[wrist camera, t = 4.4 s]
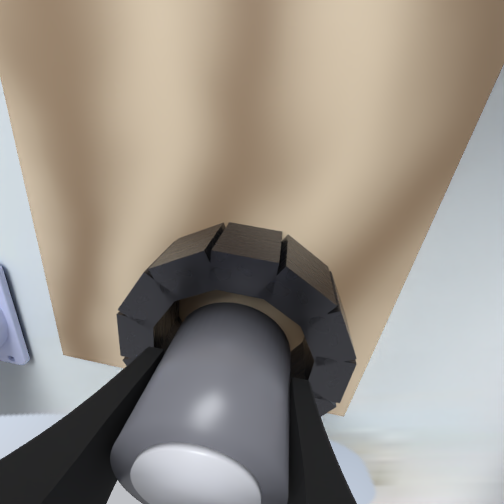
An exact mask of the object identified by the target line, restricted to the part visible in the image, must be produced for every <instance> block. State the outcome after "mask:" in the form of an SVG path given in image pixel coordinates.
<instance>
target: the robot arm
mask: <svg viewBox="0 0 504 504" xmlns="http://www.w3.org/2000/svg"><path fill="white" fill-rule="evenodd" d="M163 356H164V350H163V349H159V348H154V347H150V346H149V347H147V348H146V349H145V350H144V351H143V352H142V353H140V354H139V355H138V356H137V357H136V358H135V359H134V360H133V361H132V362H131V363H130V364H128V365H127V366H126V367H125V368H124V369H123V370H122V371H121V372H119V373H118V374H117V375H116V376H115V377H114V378H112V379H111V380H110V381H109V382H108V383H107V384H105V385H104V386H103V387H102V388H101V389H100V390H98V391H97V392H96V393H95V394H93V395H92V396H91V397H90V398H88V399H87V400H86V401H84V402H83V403H82V404H81V405H79V406H78V407H77V408H75V409H74V410H73V411H72V412H70V413H69V414H68V415H66V416H65V417H63V418H62V419H61V420H59V421H58V422H57V423H55V424H54V425H52V426H51V427H50V428H48V429H47V430H45V431H44V432H42V433H41V434H40V435H38V436H36V437H35V438H33V439H32V440H30V441H29V442H27V443H26V444H24V445H23V446H21V447H20V448H18V449H16V450H15V451H13V452H12V453H10V454H9V455H7V456H6V457H4V458H2V459H1V460H0V504H106V503H107V501H108V499H109V496H110V494H111V492H112V490H113V487H114V486H115V484H116V482H117V478H116V476H115V474H114V472H113V470H112V467H111V462H110V455H111V450H112V448H113V445H114V443H115V442H116V440H117V438H118V436H119V435H120V433H121V431H122V429H123V427H124V426H125V424H126V422H127V420H128V418H129V417H130V415H131V413H132V411H133V410H134V408H135V406H136V404H137V402H138V401H139V399H140V397H141V395H142V393H143V392H144V390H145V388H146V386H147V384H148V383H149V381H150V379H151V377H152V376H153V374H154V372H155V370H156V368H157V367H158V365H159V363H160V361H161V359H162V358H163ZM29 360H30V357H29V354H28V351H27V347H26V344H25V341H24V337H23V334H22V331H21V327H20V324H19V321H18V317H17V314H16V311H15V307H14V304H13V301H12V298H11V294H10V291H9V288H8V284H7V281H6V278H5V274H4V271H3V268H2V267H1V266H0V361H4V362H9V363H13V364H18V365H25V364H26V363H27V362H28V361H29ZM287 504H357V503H356V501H355V499H354V497H353V495H352V493H351V491H350V489H349V486H348V484H347V482H346V480H345V478H344V475H343V473H342V471H341V468H340V466H339V464H338V462H337V459H336V457H335V454H334V452H333V449H332V447H331V444H330V441H329V439H328V436H327V434H326V431H325V428H324V426H323V423H322V420H321V417H320V414H319V411H318V408H317V405H316V402H315V398H314V395H313V391H312V387H311V383H310V382H309V381H308V380H303V379H298V378H294V377H292V380H291V384H290V422H289V482H288V502H287Z"/></svg>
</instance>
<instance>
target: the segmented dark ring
mask: <svg viewBox="0 0 504 504" xmlns="http://www.w3.org/2000/svg"><path fill="white" fill-rule="evenodd" d="M213 290H220V291H225V292H230V293H235V294H240V295H245V296H250V297H255V298H260V299H264V300H265V301H267V302H268V303H269V304H271V305H272V306H273V307H275V308H276V309H278V310H279V311H280V312H282V313H283V314H284V315H286V316H287V317H288V318H290V319H291V320H292V321H294V322H295V323H296V324H298V325H299V326H300V327H301V329H302V331H303V334H304V339H303V342H302V343H300V344H299V345H298V346H297V347H295V348H294V349H293V350H292V351H290V352H291V362H290V384H291V380H292V377H294V378H298V379H303V380H308V381H309V382H310V383H311V387H312V391H313V395H314V398H315V402H316V405H317V408H318V411H319V414H320V417H321V416H322V415H324V414H326V413H327V412H329V411H331V410H332V409H334V408H336V407H337V406H336V403H340V402H341V400H342V397H343V395H344V393H345V390H346V388H347V386H348V383H349V381H350V379H351V376H352V374H353V372H354V369H355V367H356V365H357V364H356V360H355V359H357V358H356V354H355V350H354V346H353V342H352V339H351V335H350V331H349V327H348V323H347V319H346V315H345V312H344V309H343V306H342V302H341V299H340V296H339V293H338V290H337V287H336V284H335V281H334V278H333V275H332V272H331V271H329V268H328V266H327V265H326V264H324V263H323V262H322V261H321V260H320V259H318V258H317V257H316V256H315V255H313V254H312V253H311V252H310V251H308V250H307V249H306V248H305V247H303V246H302V245H301V244H300V243H298V242H297V241H296V240H295V239H293V238H292V237H291V236H290V235H289V234H288V235H287V236H286V237H285V238H284V239H283V240H282V231H276V230H271V229H265V228H260V227H254V226H249V225H243V224H238V223H232V222H229V223H228V225H227V226H226V227H225V225H224V223H220V224H218V225H215V226H212V227H209V228H206V229H203V230H201V231H198V232H195V233H192V234H189V235H186V236H184V237H181V238H178V239H177V240H176V241H175V242H173V243H172V244H171V245H170V246H169V247H168V248H167V249H166V250H165V251H164V252H163V253H162V254H161V255H160V256H159V257H158V258H157V259H156V260H155V261H154V262H153V263H152V264H151V265H150V266H149V267H148V268H147V269H146V270H145V271H144V272H143V274H142V275H141V277H140V278H139V280H138V281H137V282H136V284H135V285H134V287H133V288H132V290H131V291H130V293H129V294H128V295H127V297H126V298H125V300H124V301H123V303H122V304H121V306H120V307H119V308H118V310H119V312H118V313H117V314H116V315H117V325H118V335H119V345H120V355H121V356H124V359H123V362H124V363H125V364H126V366H127V365H128V364H130V363H131V362H132V361H133V360H134V359H135V358H136V357H137V356H138V355H139V354H140V353H142V352H143V351H144V350H145V349H146V348H147V347H149V346H150V347H154V348H159V349H163V350H164V354H165V352H166V351H167V349H168V347H169V345H170V343H171V342H172V340H173V338H174V336H175V334H176V333H177V331H178V329H179V327H180V326H181V324H182V321H181V319H180V317H179V300H181V299H184V298H188V297H192V296H195V295H199V294H202V293H206V292H209V291H213Z"/></svg>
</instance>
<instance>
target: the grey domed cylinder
mask: <svg viewBox="0 0 504 504" xmlns="http://www.w3.org/2000/svg"><path fill="white" fill-rule="evenodd" d="M290 362H291V352H290V345H289V341H288V339H287V337H286V335H285V333H284V331H283V330H282V329H281V327H280V326H279V325H278V324H277V323H276V322H275V321H274V320H273V319H272V318H270V317H269V316H268V315H266V314H264V313H263V312H261V311H259V310H257V309H255V308H253V307H250V306H247V305H243V304H238V303H231V302H220V303H212V304H208V305H205V306H202V307H200V308H198V309H196V310H194V311H193V312H192V313H190V314H189V315H188V316H187V317H186V318H185V319H184V321H183V322H182V324H181V326H180V327H179V329H178V331H177V333H176V334H175V336H174V338H173V340H172V342H171V343H170V345H169V347H168V349H167V351H166V352H165V354H164V356H163V358H162V359H161V361H160V363H159V365H158V367H157V368H156V370H155V372H154V374H153V376H152V377H151V379H150V381H149V383H148V384H147V386H146V388H145V390H144V392H143V393H142V395H141V397H140V399H139V401H138V402H137V404H136V406H135V408H134V410H133V411H132V413H131V415H130V417H129V418H128V420H127V422H126V424H125V426H124V427H123V429H122V431H121V433H120V435H119V436H118V438H117V440H116V442H115V443H114V445H113V448H112V450H111V455H110V462H111V467H112V470H113V472H114V474H115V476H116V478H117V480H118V481H119V482H120V483H121V485H122V486H123V487H124V488H125V489H126V491H128V492H129V493H130V494H131V495H132V496H133V497H135V498H136V499H137V500H138V501H140V502H141V503H143V504H287V502H288V482H289V422H290Z"/></svg>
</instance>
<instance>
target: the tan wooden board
mask: <svg viewBox="0 0 504 504" xmlns="http://www.w3.org/2000/svg"><path fill="white" fill-rule="evenodd" d="M503 65H504V0H0V77H1V82H2V86H3V91H4V95H5V100H6V104H7V108H8V113H9V117H10V122H11V126H12V130H13V135H14V139H15V144H16V148H17V153H18V157H19V161H20V166H21V170H22V175H23V179H24V184H25V188H26V192H27V197H28V201H29V206H30V210H31V214H32V219H33V223H34V228H35V232H36V237H37V241H38V245H39V250H40V254H41V259H42V263H43V267H44V272H45V276H46V281H47V285H48V290H49V294H50V298H51V303H52V307H53V312H54V316H55V321H56V325H57V329H58V334H59V338H60V343H61V347H62V351H63V355H66V356H71V357H75V358H80V359H84V360H89V361H93V362H98V363H102V364H107V365H111V366H116V367H121V368H125V367H126V364H125V363H124V362H123V359H124V356H121V355H120V345H119V335H118V325H117V315H116V314H117V313H118V312H119V310H118V308H119V307H120V306H121V304H122V303H123V301H124V300H125V298H126V297H127V295H128V294H129V293H130V291H131V290H132V288H133V287H134V285H135V284H136V282H137V281H138V280H139V278H140V277H141V275H142V274H143V272H144V271H145V270H146V269H147V268H148V267H149V266H150V265H151V264H152V263H153V262H154V261H155V260H156V259H157V258H158V257H159V256H160V255H161V254H162V253H163V252H164V251H165V250H166V249H167V248H168V247H169V246H170V245H171V244H172V243H173V242H175V241H176V240H177V239H178V238H181V237H184V236H186V235H189V234H192V233H195V232H198V231H201V230H203V229H206V228H209V227H212V226H215V225H218V224H220V223H224V225H225V227H226V226H227V225H228V223H229V222H232V223H238V224H243V225H249V226H254V227H260V228H265V229H271V230H276V231H282V240H283V239H284V238H285V237H286V236H287V235H288V234H289V235H290V236H291V237H292V238H293V239H295V240H296V241H297V242H298V243H300V244H301V245H302V246H303V247H305V248H306V249H307V250H308V251H310V252H311V253H312V254H313V255H315V256H316V257H317V258H318V259H320V260H321V261H322V262H323V263H324V264H326V265H327V266H328V268H329V271H331V272H332V275H333V278H334V281H335V284H336V287H337V290H338V293H339V296H340V299H341V302H342V306H343V309H344V312H345V315H346V319H347V323H348V327H349V331H350V335H351V339H352V342H353V346H354V350H355V354H356V358H357V359H355V360H356V364H357V365H356V367H355V369H354V372H353V374H352V376H351V379H350V381H349V383H348V386H347V388H346V390H345V393H344V395H343V397H342V400H341V402H340V403H336V406H337V407H336V408H334V409H332V410H331V411H329V412H327V413H330V414H334V415H339V416H343V417H344V415H345V413H346V411H347V408H348V406H349V404H350V402H351V400H352V397H353V395H354V393H355V391H356V389H357V386H358V384H359V382H360V380H361V378H362V375H363V373H364V371H365V369H366V367H367V364H368V362H369V360H370V358H371V356H372V353H373V351H374V349H375V347H376V345H377V342H378V340H379V338H380V336H381V333H382V331H383V329H384V327H385V325H386V322H387V320H388V318H389V316H390V314H391V311H392V309H393V307H394V305H395V303H396V300H397V298H398V296H399V294H400V292H401V289H402V287H403V285H404V283H405V281H406V278H407V276H408V274H409V272H410V270H411V267H412V265H413V263H414V261H415V259H416V256H417V254H418V252H419V250H420V248H421V245H422V243H423V241H424V239H425V237H426V234H427V232H428V230H429V228H430V225H431V223H432V221H433V219H434V217H435V214H436V212H437V210H438V208H439V206H440V203H441V201H442V199H443V197H444V195H445V192H446V190H447V188H448V186H449V184H450V181H451V179H452V177H453V175H454V173H455V170H456V168H457V166H458V164H459V162H460V159H461V157H462V155H463V153H464V151H465V148H466V146H467V144H468V142H469V140H470V137H471V135H472V133H473V131H474V129H475V126H476V124H477V122H478V120H479V118H480V115H481V113H482V111H483V109H484V106H485V104H486V102H487V100H488V98H489V95H490V93H491V91H492V89H493V87H494V84H495V82H496V80H497V78H498V76H499V73H500V71H501V69H502V67H503ZM220 302H231V303H238V304H243V305H247V306H250V307H253V308H255V309H257V310H259V311H261V312H263V313H264V314H266V315H268V316H269V317H270V318H272V319H273V320H274V321H275V322H276V323H277V324H278V325H279V326H280V327H281V329H282V330H283V331H284V333H285V335H286V337H287V339H288V341H289V345H290V351H292V350H293V349H294V348H295V347H297V346H298V345H299V344H300V343H302V342H303V339H304V334H303V331H302V329H301V327H300V326H299V325H298V324H296V323H295V322H294V321H292V320H291V319H290V318H288V317H287V316H286V315H284V314H283V313H282V312H280V311H279V310H278V309H276V308H275V307H273V306H272V305H271V304H269V303H268V302H267V301H265V300H264V299H260V298H255V297H250V296H245V295H240V294H235V293H230V292H225V291H220V290H213V291H209V292H206V293H202V294H199V295H195V296H192V297H188V298H184V299H181V300H179V317H180V319H181V321H182V322H183V321H184V319H185V318H186V317H187V316H188V315H189V314H190V313H192V312H193V311H194V310H196V309H198V308H200V307H202V306H205V305H208V304H212V303H220Z"/></svg>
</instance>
